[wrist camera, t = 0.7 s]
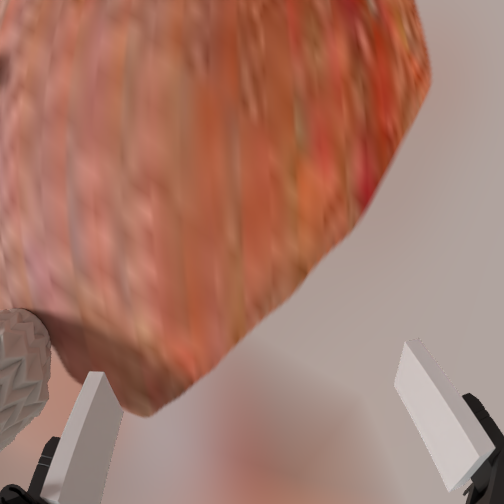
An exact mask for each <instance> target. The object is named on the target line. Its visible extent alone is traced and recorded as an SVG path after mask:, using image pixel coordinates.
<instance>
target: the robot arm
mask: <svg viewBox="0 0 504 504" xmlns="http://www.w3.org/2000/svg"><path fill="white" fill-rule="evenodd" d="M394 386H395V388H396V390H397V392H398V394H399V395H400V397H401V399H402V401H403V403H404V405H405V407H406V408H407V410H408V412H409V414H410V416H411V418H412V420H413V422H414V423H415V425H416V427H417V429H418V431H419V433H420V435H421V437H422V439H423V441H424V443H425V445H426V447H427V449H428V451H429V452H430V455H431V457H432V459H433V461H434V463H435V465H436V467H437V469H438V471H439V473H440V475H441V477H442V479H443V481H444V483H445V485H446V487H447V490H448V492H450V491H452V490H455V489H457V488H459V487H461V486H463V485H464V484H465V483H466V482H467V481H468V480H469V479H470V478H471V480H472V481H473V483H472V484H471V485H470V486H469V487H468V488H467V489H466V490H465V492H464V494H463V495H464V496H465V495H466V494H467V493H468V492H469V494H468V498H467V501H466V504H504V436H503V434H502V433H501V431H500V429H499V428H498V426H497V425H496V424H495V422H494V421H493V419H492V418H491V417H490V416H489V413H488V412H487V411H486V410H485V408H484V406H483V405H482V404H481V402H480V401H479V399H477V398H476V397H475V396H473V395H472V394H470V393H468V394H465V395H463V396H461V395H460V393H459V392H458V390H457V389H456V388H455V386H454V385H453V383H452V382H451V381H450V379H449V378H448V376H447V375H446V374H445V372H444V371H443V369H442V368H441V367H440V365H439V364H438V363H437V361H436V360H435V359H434V357H433V356H432V355H431V353H430V352H429V351H428V349H427V348H426V347H425V345H424V344H423V343H422V341H421V340H420V339H419V338H418V339H414V340H409V341H406V342H405V343H404V347H403V352H402V356H401V359H400V363H399V367H398V371H397V375H396V378H395V381H394ZM123 413H124V411H123V410H122V408H121V406H120V404H119V402H118V400H117V398H116V396H115V394H114V392H113V390H112V388H111V386H110V384H109V381H108V379H107V377H106V375H105V373H104V372H93V371H89V373H88V375H87V378H86V380H85V382H84V384H83V386H82V389H81V391H80V393H79V395H78V398H77V400H76V402H75V405H74V407H73V409H72V412H71V414H70V417H69V419H68V421H67V424H66V426H65V429H64V431H63V434H62V436H61V438H59V437H52V438H51V439H50V440H49V441H48V442H47V443H46V445H45V447H44V449H43V452H42V454H41V455H42V456H41V457H40V459H39V462H38V463H39V464H38V465H37V467H36V470H35V472H34V475H33V478H32V480H31V483H30V486H29V489H28V491H27V492H26V491H24V490H23V489H22V488H21V487H20V486H18V485H14V484H10V485H7V486H5V487H4V488H3V489H2V490H1V492H0V504H101V500H102V496H103V491H104V487H105V482H106V478H107V474H108V469H109V466H110V462H111V458H112V454H113V450H114V446H115V442H116V439H117V435H118V431H119V427H120V424H121V420H122V417H123Z"/></svg>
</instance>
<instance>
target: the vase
mask: <svg viewBox="0 0 504 504" xmlns="http://www.w3.org/2000/svg"><path fill="white" fill-rule="evenodd" d="M50 348H51V341H50V336H49V335H48V331H47V329H46V328H45V326H44V324H42V322H41V320H40V319H38V318H37V317H36V316H35V315H34V314H32V313H31V312H29V311H27V310H25V309H21V308H18V309H16V308H13V309H10V310H7V309H4V310H1V311H0V452H1V451H2V450H3V449H4V448H5V447H6V446H7V445H9V444H10V443H11V442H12V441H13V440H14V439H15V437H16V435H17V434H18V433H19V432H20V431H21V430H23V429H24V428H25V427H26V426H27V425H28V424H29V423H30V422H31V421H32V420H33V419H34V417H37V416H39V415H40V413H41V411H42V410H43V408H44V406H45V404H46V402H47V401H48V399H49V392H48V385H47V383H48V381H49V379H50V363H51V351H50Z"/></svg>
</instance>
